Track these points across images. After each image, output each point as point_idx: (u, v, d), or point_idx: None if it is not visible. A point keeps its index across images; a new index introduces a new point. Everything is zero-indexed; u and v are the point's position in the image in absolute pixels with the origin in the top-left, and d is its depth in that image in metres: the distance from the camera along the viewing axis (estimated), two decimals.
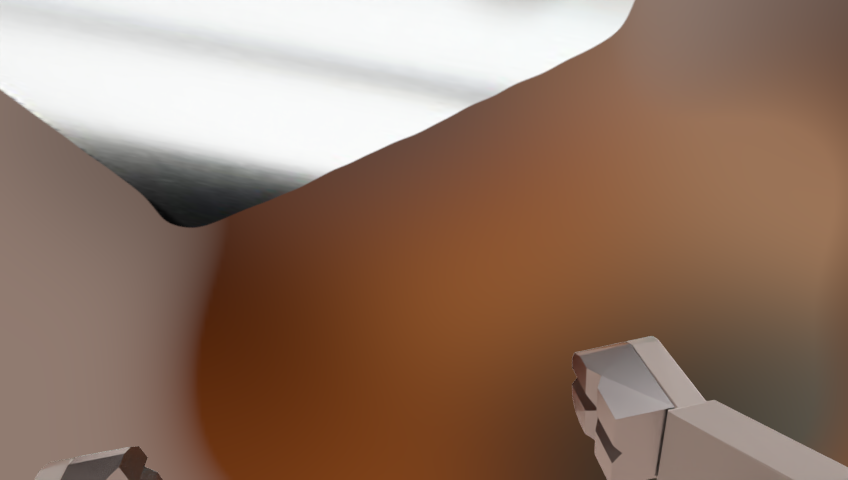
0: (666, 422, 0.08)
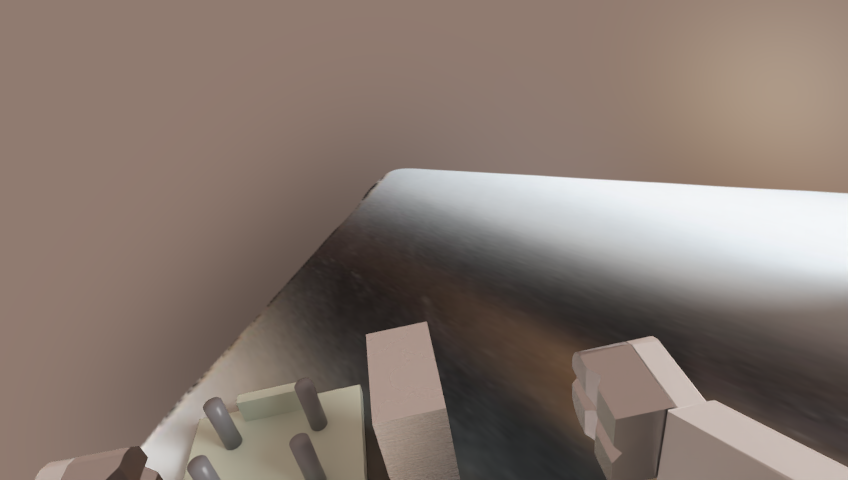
0: (666, 422, 0.08)
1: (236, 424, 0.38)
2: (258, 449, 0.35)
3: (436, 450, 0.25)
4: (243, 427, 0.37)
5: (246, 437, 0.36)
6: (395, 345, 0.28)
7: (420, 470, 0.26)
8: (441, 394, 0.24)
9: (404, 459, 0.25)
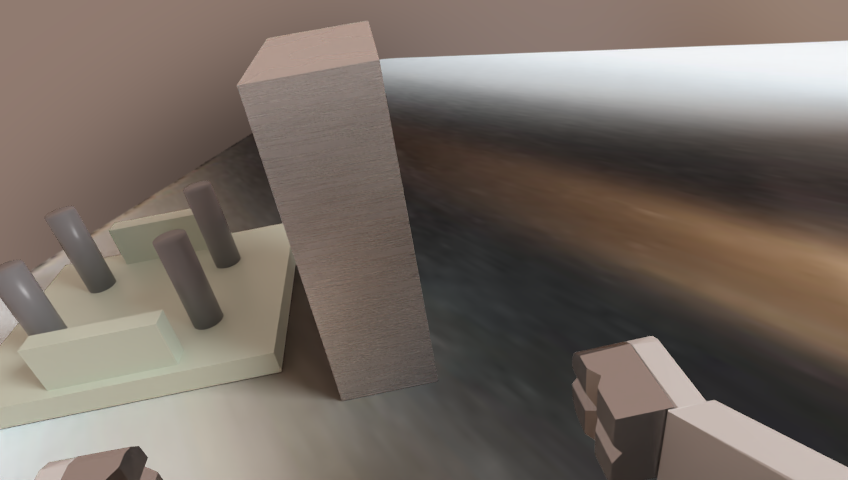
0: (666, 422, 0.08)
1: (113, 267, 0.26)
2: (134, 290, 0.24)
3: (367, 174, 0.14)
4: (121, 269, 0.26)
5: (121, 280, 0.25)
6: (310, 37, 0.16)
7: (341, 223, 0.15)
8: (374, 52, 0.13)
9: (310, 191, 0.14)
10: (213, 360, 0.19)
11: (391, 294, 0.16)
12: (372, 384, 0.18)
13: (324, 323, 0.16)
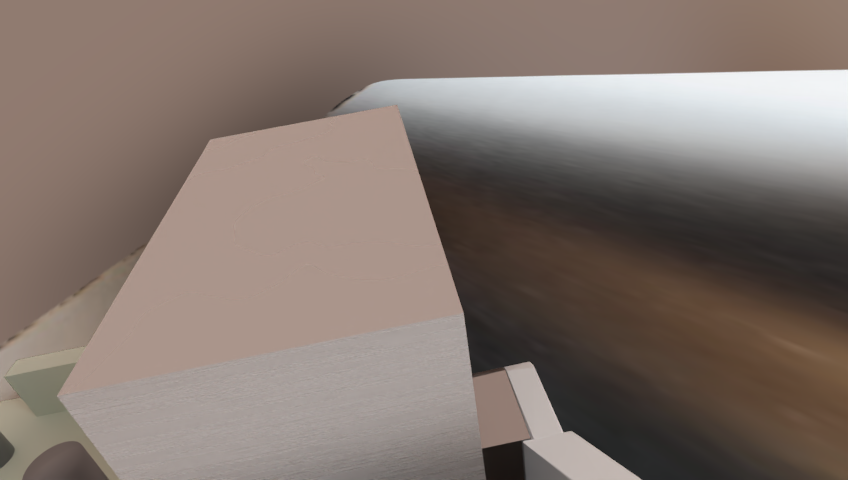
0: (523, 453, 0.08)
1: (16, 421, 0.18)
2: None
3: None
4: (26, 427, 0.18)
5: (22, 450, 0.17)
6: (288, 151, 0.08)
7: None
8: (439, 261, 0.05)
9: None
10: None
11: None
12: None
13: None
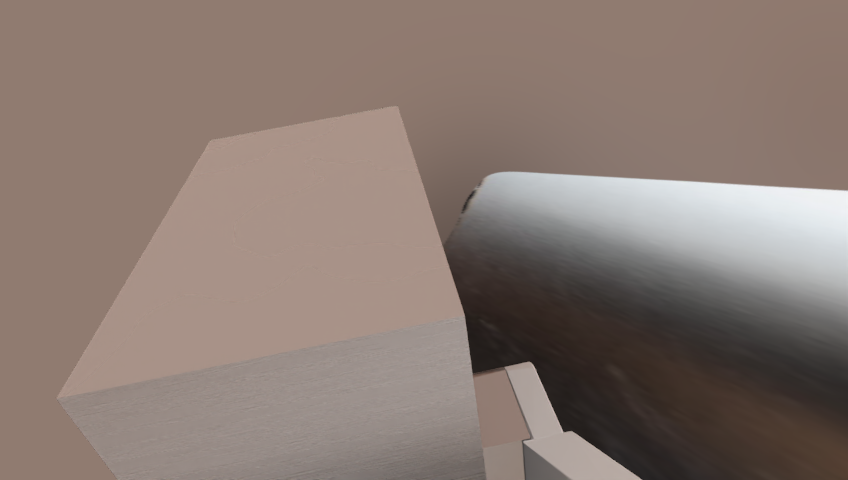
0: (523, 453, 0.08)
1: None
2: None
3: None
4: None
5: None
6: (288, 151, 0.08)
7: None
8: (440, 263, 0.05)
9: None
10: None
11: None
12: None
13: None
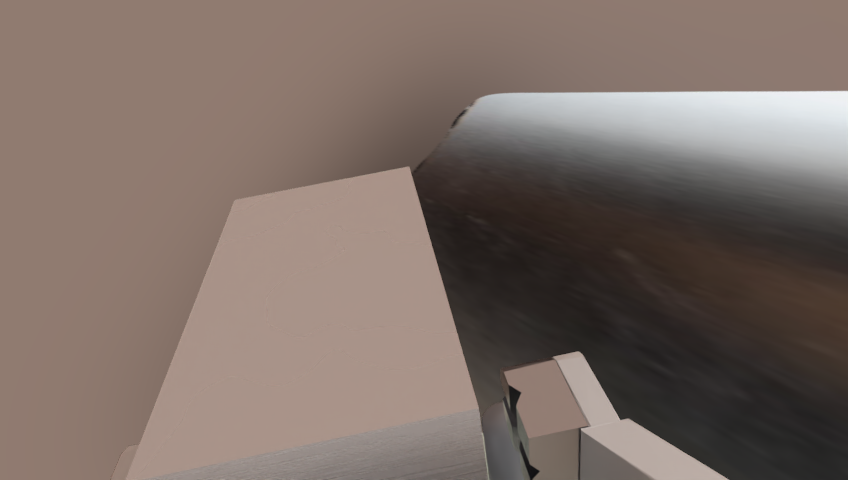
0: (580, 441, 0.08)
1: None
2: None
3: None
4: None
5: None
6: (310, 217, 0.09)
7: None
8: (455, 351, 0.06)
9: None
10: None
11: None
12: None
13: None
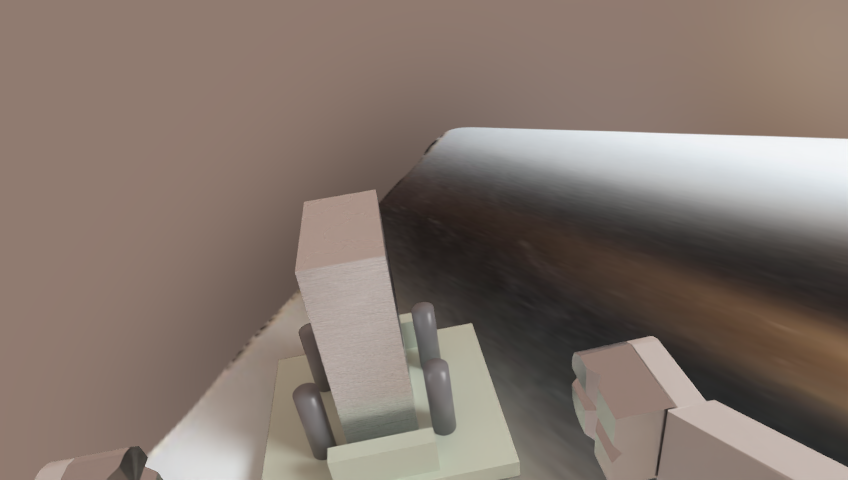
0: (666, 422, 0.08)
1: None
2: None
3: (375, 318, 0.21)
4: None
5: None
6: (336, 208, 0.23)
7: (357, 347, 0.22)
8: (381, 244, 0.20)
9: (337, 329, 0.21)
10: (469, 467, 0.24)
11: (389, 389, 0.23)
12: None
13: (342, 408, 0.23)
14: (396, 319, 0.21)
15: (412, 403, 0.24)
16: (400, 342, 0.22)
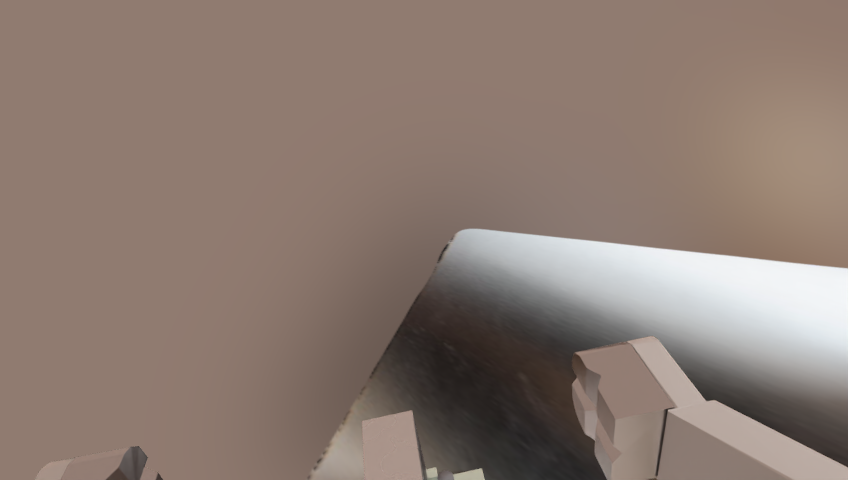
0: (666, 422, 0.08)
1: None
2: None
3: None
4: None
5: None
6: (385, 432, 0.34)
7: None
8: None
9: None
10: None
11: None
12: None
13: None
14: None
15: None
16: None
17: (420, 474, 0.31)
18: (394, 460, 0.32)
